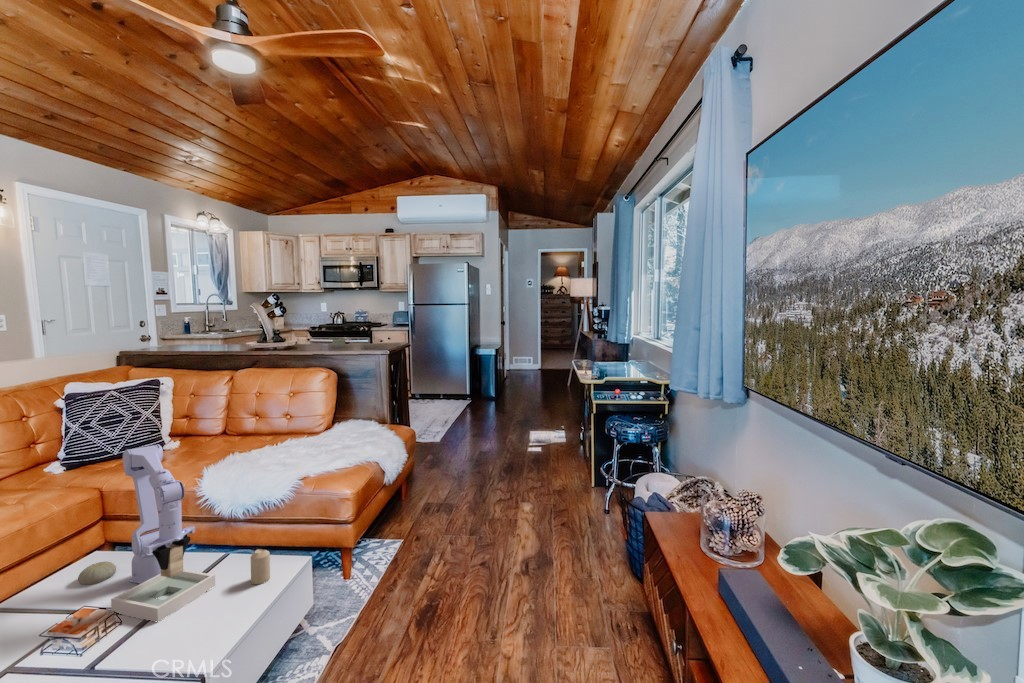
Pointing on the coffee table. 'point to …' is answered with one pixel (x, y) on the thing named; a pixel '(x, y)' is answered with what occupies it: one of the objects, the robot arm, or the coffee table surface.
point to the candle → (260, 566)
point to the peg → (174, 561)
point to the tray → (144, 595)
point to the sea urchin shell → (97, 573)
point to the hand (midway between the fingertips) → (171, 565)
